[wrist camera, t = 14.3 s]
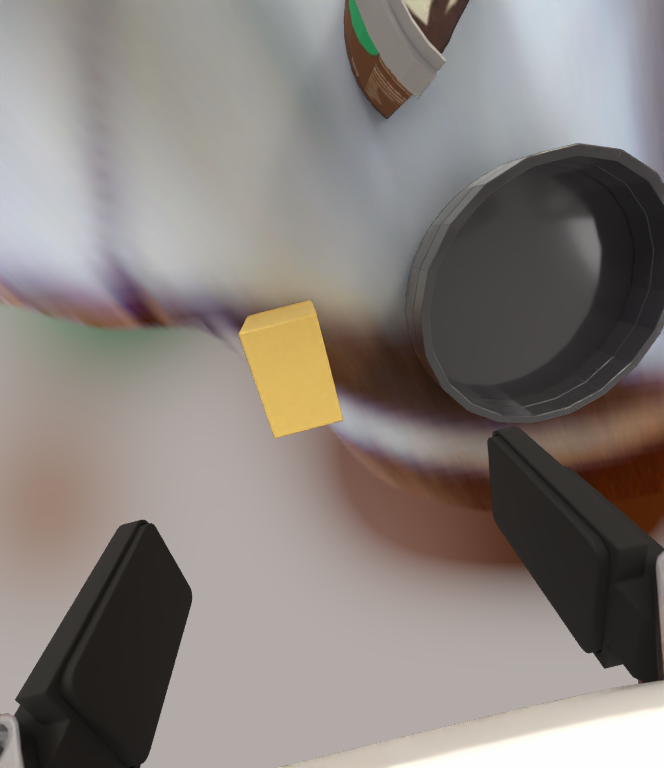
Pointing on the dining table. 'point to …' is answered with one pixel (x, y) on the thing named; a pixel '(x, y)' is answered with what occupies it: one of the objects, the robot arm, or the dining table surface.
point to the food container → (397, 46)
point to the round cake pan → (541, 283)
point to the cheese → (291, 368)
